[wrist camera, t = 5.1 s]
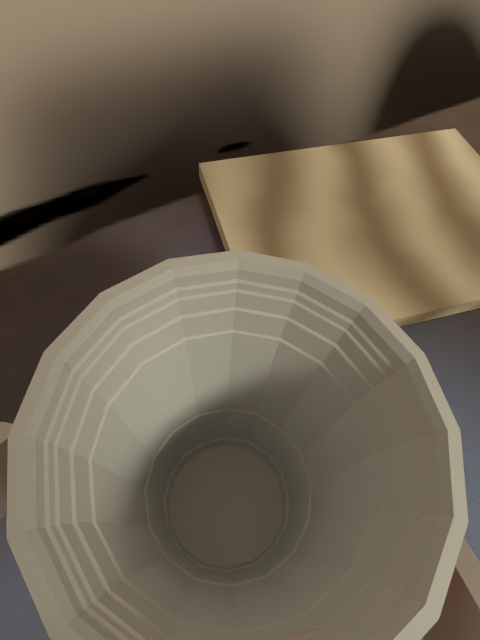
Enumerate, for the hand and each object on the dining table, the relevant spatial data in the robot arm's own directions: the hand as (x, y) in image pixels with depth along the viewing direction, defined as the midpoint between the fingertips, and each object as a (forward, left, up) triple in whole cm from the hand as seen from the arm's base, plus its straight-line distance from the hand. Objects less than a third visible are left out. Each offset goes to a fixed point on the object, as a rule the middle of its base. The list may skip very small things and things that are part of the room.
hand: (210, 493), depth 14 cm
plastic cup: (-1, 0, -7) cm, 7 cm away
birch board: (-16, -15, -6) cm, 23 cm away
